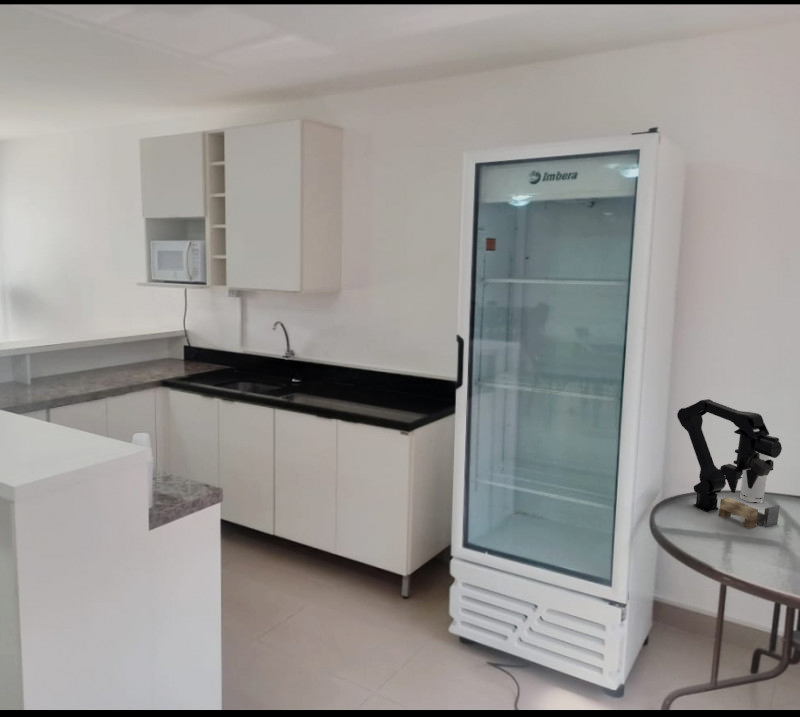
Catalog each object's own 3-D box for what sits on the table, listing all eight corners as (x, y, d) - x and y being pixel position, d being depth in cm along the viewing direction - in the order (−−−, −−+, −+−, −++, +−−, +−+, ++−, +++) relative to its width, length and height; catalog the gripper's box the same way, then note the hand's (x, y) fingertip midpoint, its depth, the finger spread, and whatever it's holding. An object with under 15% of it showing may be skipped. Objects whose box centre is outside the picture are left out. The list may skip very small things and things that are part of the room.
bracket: (726, 511, 238) (728, 493, 237) (738, 507, 242) (740, 490, 240) (765, 527, 225) (768, 508, 224) (778, 523, 228) (780, 505, 227)
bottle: (762, 505, 245) (771, 434, 240) (738, 500, 249) (747, 430, 244) (764, 498, 251) (772, 429, 246) (741, 493, 256) (749, 426, 251)
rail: (719, 508, 234) (720, 498, 233) (726, 506, 235) (727, 497, 235) (750, 520, 223) (751, 511, 223) (756, 519, 225) (758, 509, 224)
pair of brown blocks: (718, 515, 234) (719, 508, 234) (725, 513, 236) (726, 506, 235) (748, 528, 224) (749, 520, 223) (756, 526, 225) (757, 518, 225)
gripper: (751, 459, 213) (745, 503, 216) (786, 452, 221) (779, 494, 225) (721, 449, 223) (716, 491, 226) (756, 442, 231) (750, 483, 234)
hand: (741, 490), depth 227 cm, fingers open, 9 cm apart
